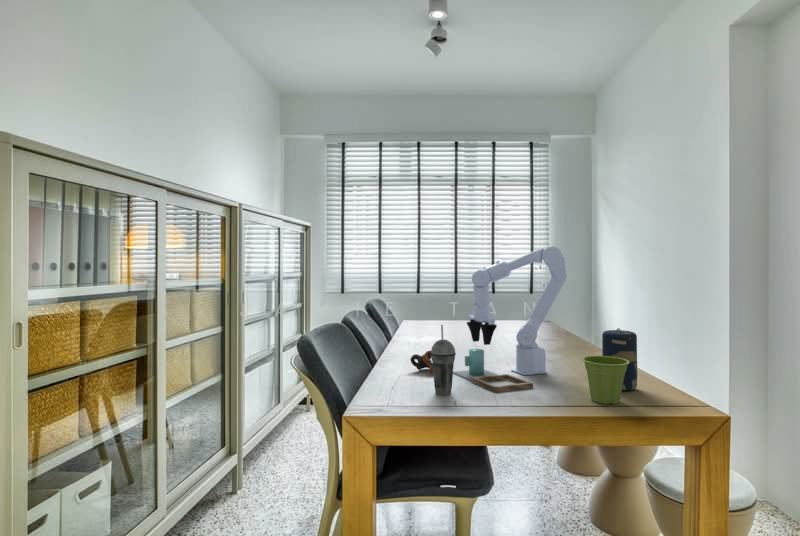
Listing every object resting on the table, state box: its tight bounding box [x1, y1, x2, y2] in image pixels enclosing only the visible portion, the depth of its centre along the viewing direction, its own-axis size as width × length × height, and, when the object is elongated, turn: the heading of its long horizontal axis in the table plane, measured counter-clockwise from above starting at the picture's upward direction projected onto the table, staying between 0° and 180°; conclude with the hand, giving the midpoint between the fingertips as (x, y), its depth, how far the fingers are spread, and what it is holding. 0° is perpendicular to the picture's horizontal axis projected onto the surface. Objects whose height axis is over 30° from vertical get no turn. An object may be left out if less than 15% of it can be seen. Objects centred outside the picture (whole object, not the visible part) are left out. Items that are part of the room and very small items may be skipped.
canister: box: [601, 327, 638, 391], centre depth 150 cm, size 10×10×18 cm
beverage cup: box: [430, 324, 457, 397], centre depth 145 cm, size 7×7×20 cm
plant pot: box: [581, 355, 630, 405], centre depth 136 cm, size 12×12×11 cm
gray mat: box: [453, 369, 499, 382], centre depth 168 cm, size 12×12×1 cm
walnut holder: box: [471, 373, 534, 393], centre depth 154 cm, size 13×13×2 cm
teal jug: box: [464, 348, 485, 376], centre depth 168 cm, size 7×5×8 cm
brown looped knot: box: [409, 350, 434, 375], centre depth 174 cm, size 12×10×8 cm
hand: (481, 342), depth 177 cm, fingers open, 7 cm apart
